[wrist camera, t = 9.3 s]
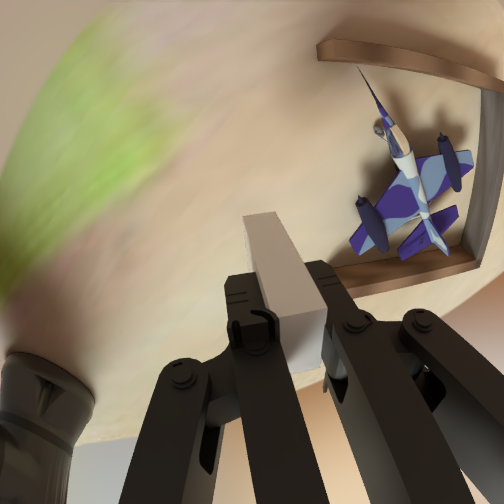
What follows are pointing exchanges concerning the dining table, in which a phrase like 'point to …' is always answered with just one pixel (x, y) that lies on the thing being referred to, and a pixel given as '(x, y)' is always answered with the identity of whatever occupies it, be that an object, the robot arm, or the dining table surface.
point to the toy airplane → (411, 194)
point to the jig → (485, 182)
